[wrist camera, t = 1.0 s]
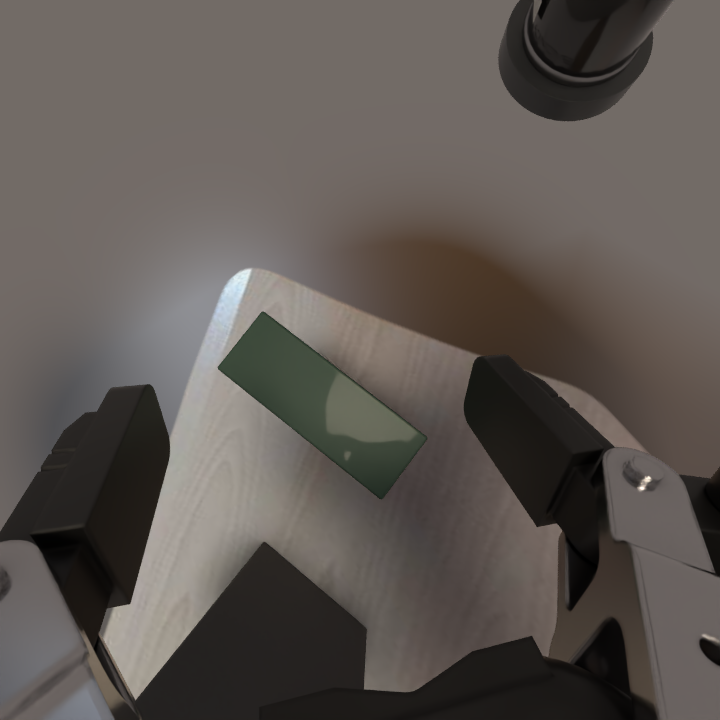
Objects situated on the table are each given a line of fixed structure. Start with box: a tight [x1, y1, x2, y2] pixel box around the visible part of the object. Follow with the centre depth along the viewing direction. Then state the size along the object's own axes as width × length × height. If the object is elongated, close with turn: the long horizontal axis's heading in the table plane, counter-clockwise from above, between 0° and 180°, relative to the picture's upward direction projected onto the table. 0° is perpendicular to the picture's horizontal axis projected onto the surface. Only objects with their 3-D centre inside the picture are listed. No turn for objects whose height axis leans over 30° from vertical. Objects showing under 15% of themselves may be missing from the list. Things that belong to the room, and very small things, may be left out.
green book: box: [218, 312, 427, 499], centre depth 23 cm, size 3×9×14 cm, turn 52°
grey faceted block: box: [136, 542, 367, 720], centre depth 20 cm, size 6×10×16 cm, turn 52°
